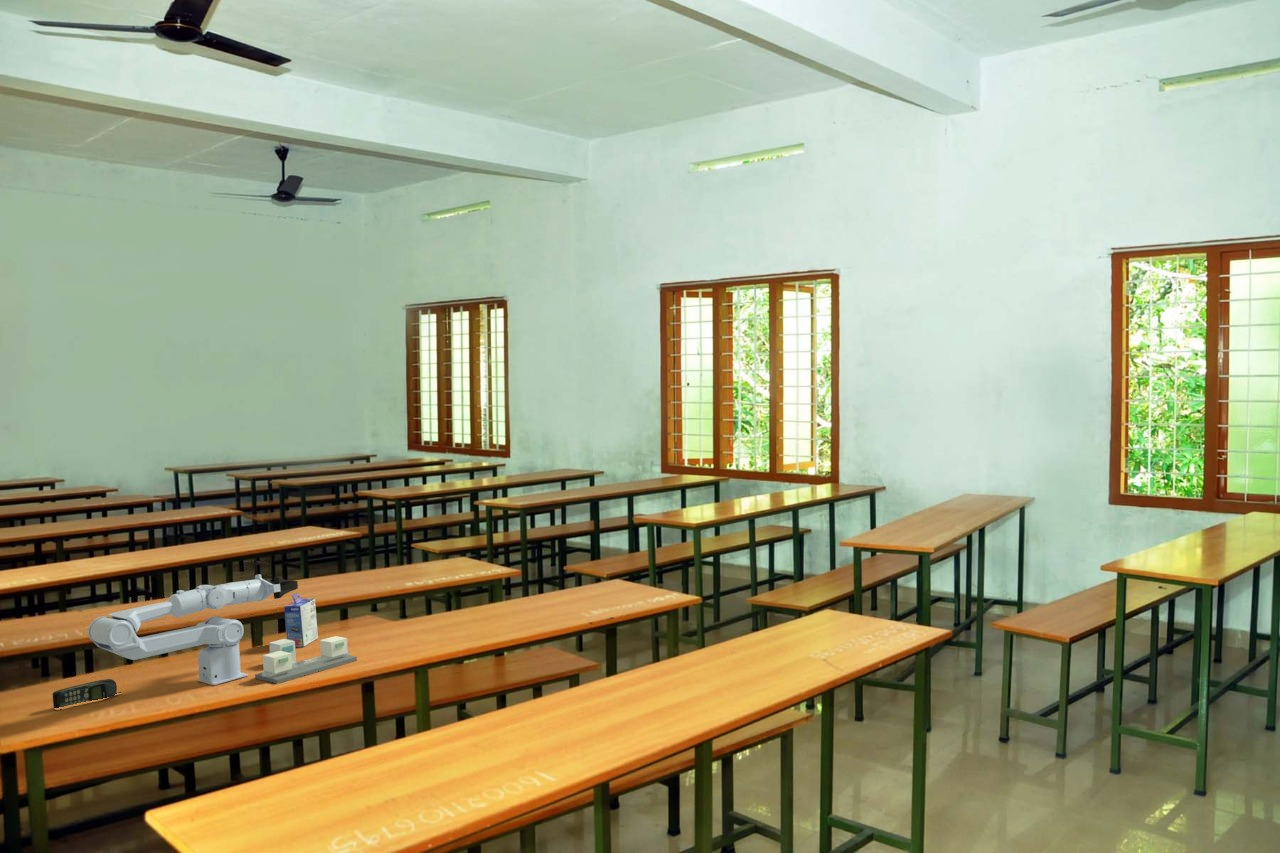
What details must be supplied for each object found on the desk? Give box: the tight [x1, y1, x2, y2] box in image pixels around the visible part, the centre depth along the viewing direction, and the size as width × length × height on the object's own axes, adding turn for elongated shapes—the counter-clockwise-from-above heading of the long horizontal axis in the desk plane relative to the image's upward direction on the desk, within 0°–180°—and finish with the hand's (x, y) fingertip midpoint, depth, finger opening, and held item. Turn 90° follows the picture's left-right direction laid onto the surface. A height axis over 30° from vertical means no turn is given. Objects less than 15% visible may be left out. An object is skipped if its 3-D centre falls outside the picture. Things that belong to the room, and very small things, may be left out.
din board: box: [254, 654, 358, 684], centre depth 257 cm, size 24×10×1 cm, turn 143°
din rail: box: [262, 650, 350, 678], centre depth 257 cm, size 24×4×1 cm, turn 143°
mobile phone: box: [52, 678, 122, 709], centre depth 236 cm, size 5×3×15 cm
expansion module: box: [268, 638, 297, 664], centre depth 264 cm, size 4×5×6 cm
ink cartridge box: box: [283, 592, 319, 648], centre depth 286 cm, size 10×6×14 cm, turn 174°
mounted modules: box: [262, 635, 349, 673], centre depth 257 cm, size 22×5×4 cm, turn 143°
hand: (288, 585), depth 267 cm, fingers open, 7 cm apart
